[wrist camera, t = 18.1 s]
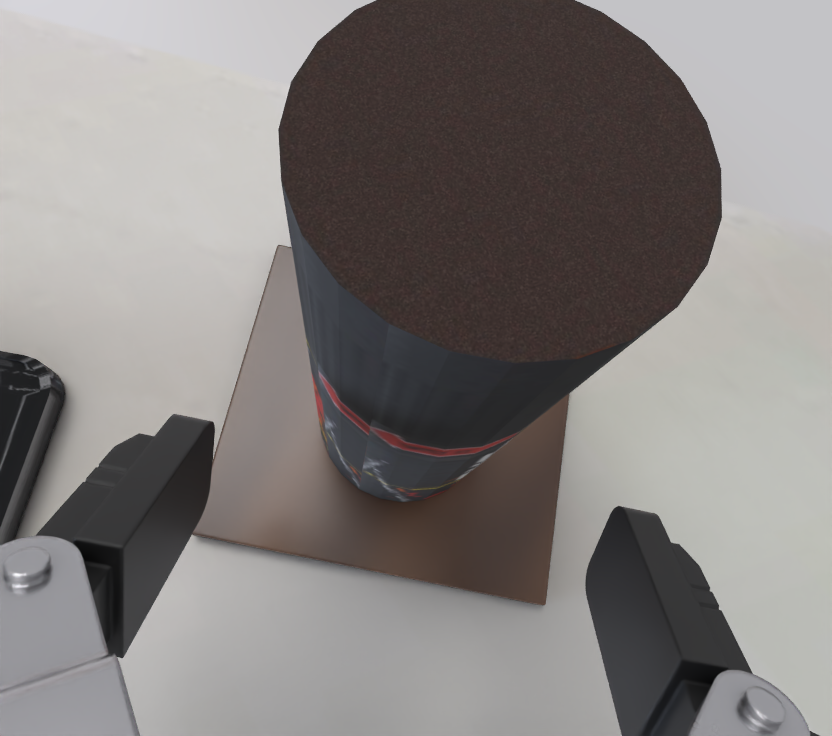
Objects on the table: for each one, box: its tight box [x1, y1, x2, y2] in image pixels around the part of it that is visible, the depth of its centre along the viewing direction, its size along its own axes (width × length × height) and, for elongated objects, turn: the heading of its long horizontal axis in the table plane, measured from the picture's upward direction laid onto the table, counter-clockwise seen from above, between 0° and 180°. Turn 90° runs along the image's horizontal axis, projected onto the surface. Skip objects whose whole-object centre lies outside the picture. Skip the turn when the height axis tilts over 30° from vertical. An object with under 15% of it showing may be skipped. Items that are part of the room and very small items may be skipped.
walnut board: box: [192, 245, 569, 605], centre depth 23 cm, size 12×11×1 cm
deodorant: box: [279, 0, 722, 502], centre depth 15 cm, size 6×6×15 cm
